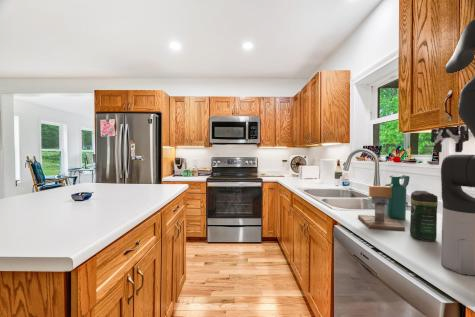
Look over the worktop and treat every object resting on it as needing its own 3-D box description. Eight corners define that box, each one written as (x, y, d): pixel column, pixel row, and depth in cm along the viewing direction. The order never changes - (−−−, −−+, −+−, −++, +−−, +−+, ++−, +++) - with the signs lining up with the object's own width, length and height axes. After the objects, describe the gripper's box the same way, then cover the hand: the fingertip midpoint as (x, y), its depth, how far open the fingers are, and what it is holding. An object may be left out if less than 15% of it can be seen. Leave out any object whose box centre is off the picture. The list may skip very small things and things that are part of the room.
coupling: (388, 202, 118) (388, 185, 118) (393, 205, 111) (393, 187, 111) (366, 201, 120) (366, 185, 120) (370, 204, 114) (370, 186, 113)
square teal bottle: (388, 218, 125) (389, 175, 125) (382, 214, 133) (383, 174, 133) (410, 220, 123) (411, 176, 122) (403, 215, 131) (404, 174, 130)
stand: (404, 230, 106) (405, 208, 106) (369, 228, 109) (370, 207, 108) (387, 219, 123) (388, 200, 123) (358, 217, 126) (358, 199, 126)
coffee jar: (439, 243, 91) (441, 193, 91) (414, 240, 94) (415, 192, 94) (430, 235, 100) (431, 190, 100) (407, 232, 103) (408, 188, 103)
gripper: (475, 111, 96) (474, 152, 96) (441, 116, 110) (440, 152, 110) (458, 110, 95) (457, 152, 95) (426, 115, 109) (425, 152, 109)
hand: (448, 152), depth 103 cm, fingers open, 8 cm apart
